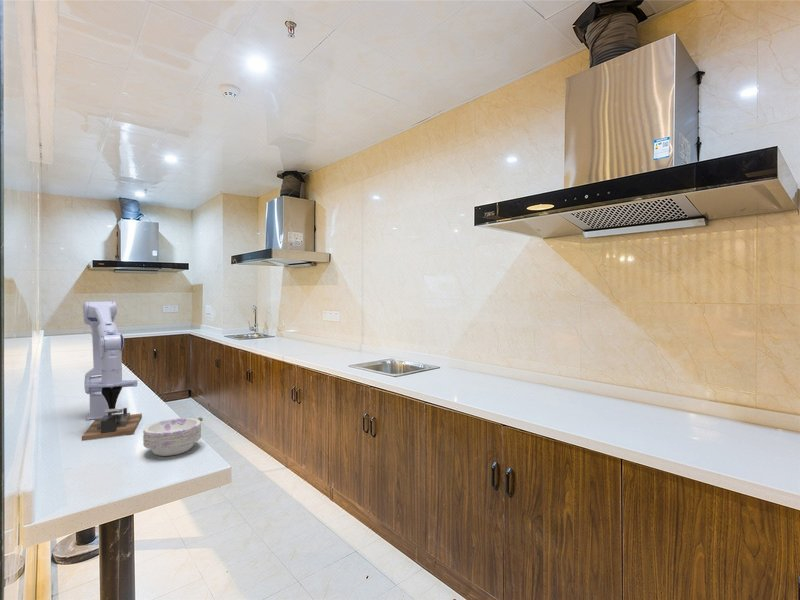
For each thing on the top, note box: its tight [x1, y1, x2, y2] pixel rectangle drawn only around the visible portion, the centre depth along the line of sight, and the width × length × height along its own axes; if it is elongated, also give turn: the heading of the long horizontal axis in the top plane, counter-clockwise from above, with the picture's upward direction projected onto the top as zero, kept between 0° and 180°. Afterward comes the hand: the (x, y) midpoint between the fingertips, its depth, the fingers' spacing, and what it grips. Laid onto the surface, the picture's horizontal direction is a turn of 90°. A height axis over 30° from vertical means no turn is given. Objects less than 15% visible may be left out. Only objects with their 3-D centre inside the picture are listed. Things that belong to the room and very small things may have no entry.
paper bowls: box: [142, 417, 202, 457], centre depth 122 cm, size 15×15×8 cm
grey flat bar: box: [105, 408, 123, 414], centre depth 141 cm, size 14×3×1 cm, turn 26°
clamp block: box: [97, 407, 131, 433], centre depth 140 cm, size 16×8×4 cm, turn 26°
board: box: [81, 413, 143, 442], centre depth 141 cm, size 20×14×2 cm
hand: (112, 409), depth 138 cm, fingers closed, pressing on grey flat bar
